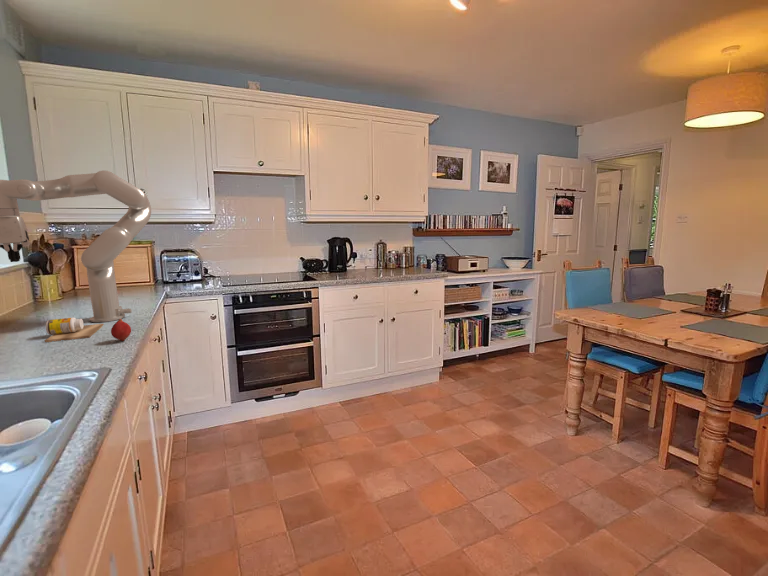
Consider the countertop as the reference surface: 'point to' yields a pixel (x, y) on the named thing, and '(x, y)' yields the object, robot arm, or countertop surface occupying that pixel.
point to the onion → (120, 330)
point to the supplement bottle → (63, 325)
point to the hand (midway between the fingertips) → (15, 261)
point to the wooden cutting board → (76, 333)
